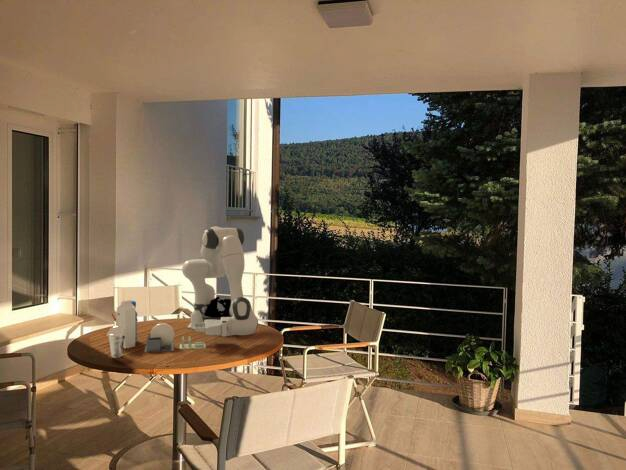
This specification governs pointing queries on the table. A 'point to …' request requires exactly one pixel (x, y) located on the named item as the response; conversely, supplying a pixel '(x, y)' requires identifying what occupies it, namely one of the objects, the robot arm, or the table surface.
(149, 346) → the dish rack
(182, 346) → the plate stand
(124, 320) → the milk
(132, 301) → the beverage bottle
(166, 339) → the plate
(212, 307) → the bowl of black rocks
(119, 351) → the cup with straw
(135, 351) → the table surface
